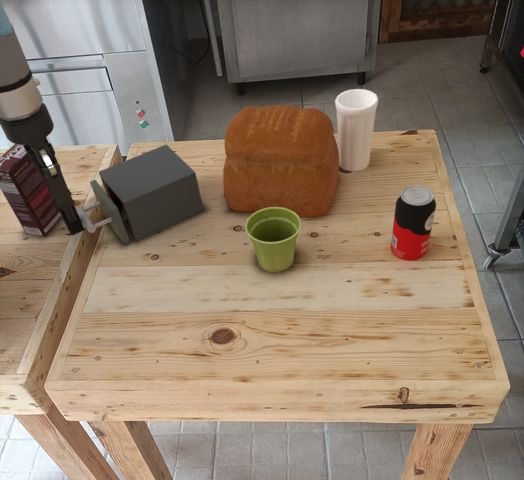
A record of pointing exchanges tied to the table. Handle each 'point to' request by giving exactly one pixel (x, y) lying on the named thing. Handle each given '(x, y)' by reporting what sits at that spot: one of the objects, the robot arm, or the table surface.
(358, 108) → the cup
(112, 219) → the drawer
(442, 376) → the table surface
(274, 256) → the plant pot
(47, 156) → the robot arm
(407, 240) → the beverage can
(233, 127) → the bread
